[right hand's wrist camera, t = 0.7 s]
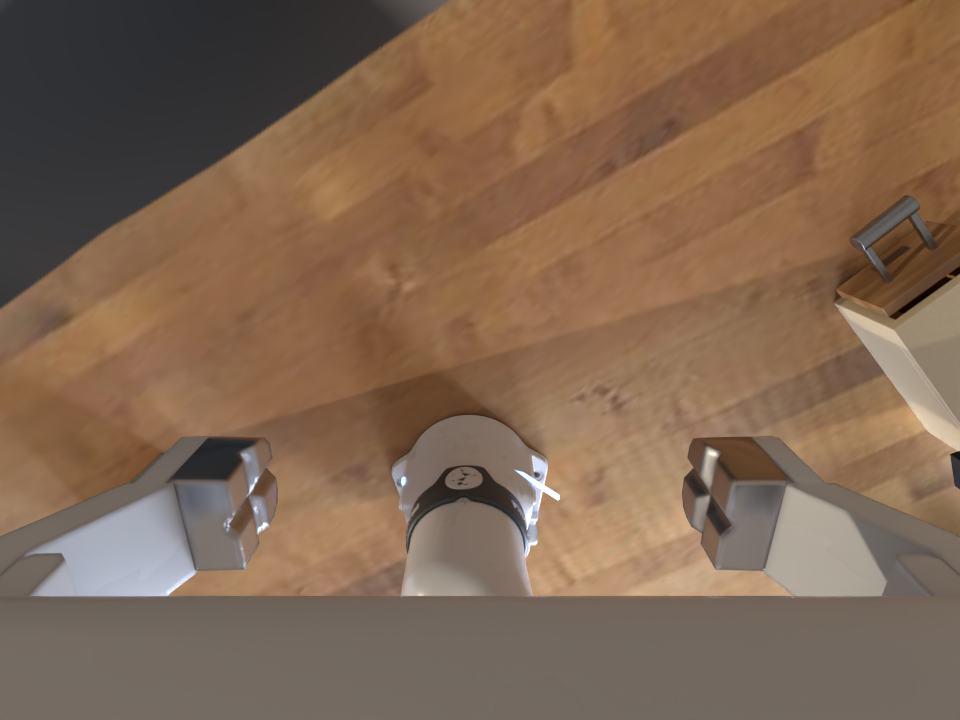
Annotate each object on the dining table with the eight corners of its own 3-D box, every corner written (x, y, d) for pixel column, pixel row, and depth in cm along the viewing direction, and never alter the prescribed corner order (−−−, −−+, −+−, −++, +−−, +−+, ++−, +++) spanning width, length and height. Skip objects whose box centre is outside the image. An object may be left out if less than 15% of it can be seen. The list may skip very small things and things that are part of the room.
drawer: (804, 247, 54) (848, 261, 47) (897, 174, 51) (957, 178, 45) (926, 415, 61) (979, 447, 55) (1013, 359, 58) (1079, 385, 52)
